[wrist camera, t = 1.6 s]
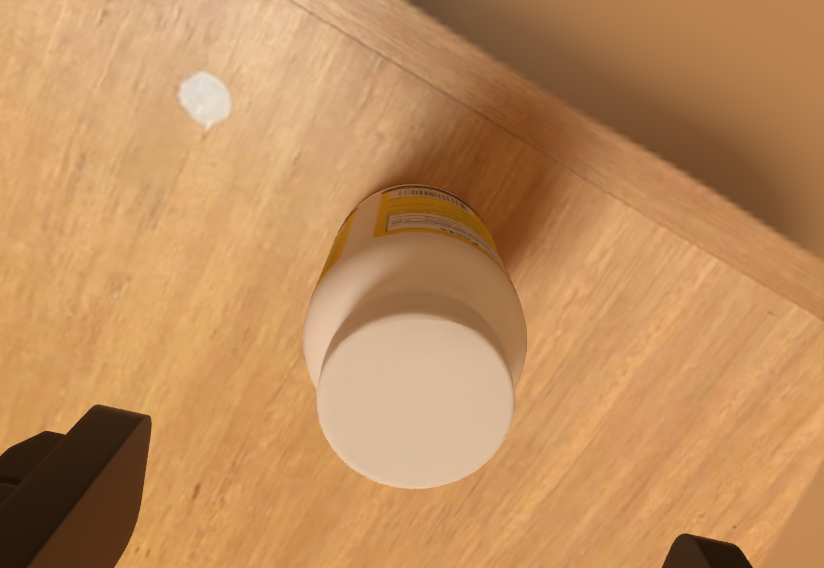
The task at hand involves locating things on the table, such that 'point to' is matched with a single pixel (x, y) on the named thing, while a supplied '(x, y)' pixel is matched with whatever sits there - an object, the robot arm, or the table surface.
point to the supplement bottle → (414, 340)
